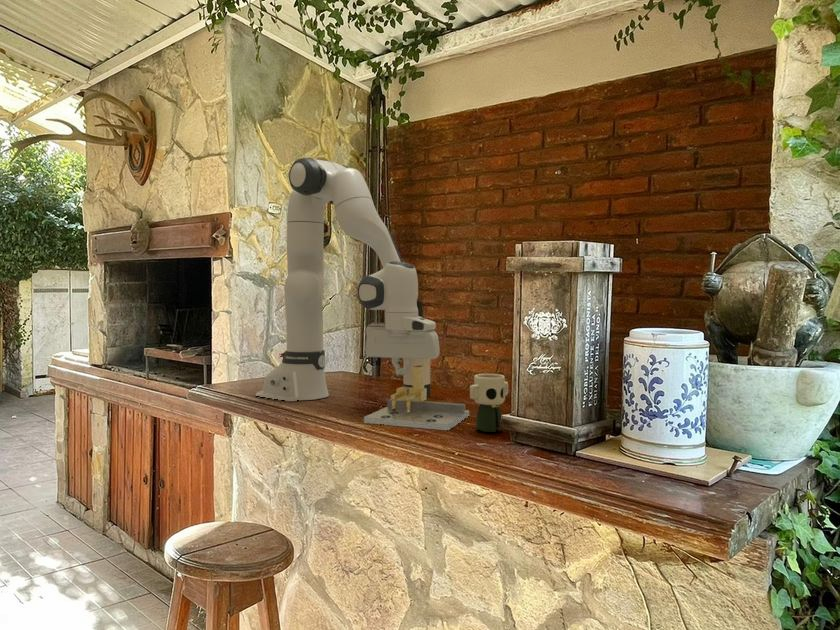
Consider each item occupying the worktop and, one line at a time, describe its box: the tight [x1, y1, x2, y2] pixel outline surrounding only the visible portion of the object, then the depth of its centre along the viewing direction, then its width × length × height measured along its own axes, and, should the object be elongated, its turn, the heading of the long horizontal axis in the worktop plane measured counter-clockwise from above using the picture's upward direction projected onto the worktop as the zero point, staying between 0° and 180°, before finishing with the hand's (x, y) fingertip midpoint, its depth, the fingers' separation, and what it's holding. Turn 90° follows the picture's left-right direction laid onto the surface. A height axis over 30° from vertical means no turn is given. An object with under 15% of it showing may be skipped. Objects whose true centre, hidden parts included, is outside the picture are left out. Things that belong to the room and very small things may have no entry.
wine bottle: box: [402, 298, 431, 399], centre depth 184 cm, size 8×8×30 cm
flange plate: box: [363, 386, 470, 431], centre depth 153 cm, size 22×17×7 cm
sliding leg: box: [405, 365, 428, 413], centre depth 156 cm, size 3×10×11 cm, turn 159°
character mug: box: [469, 373, 509, 433], centre depth 140 cm, size 11×7×13 cm, turn 121°
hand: (402, 375), depth 160 cm, fingers closed
